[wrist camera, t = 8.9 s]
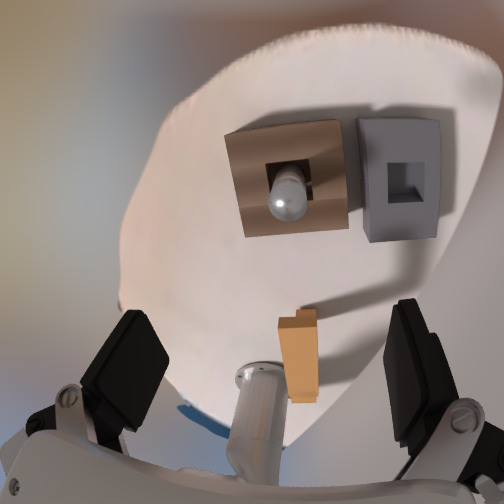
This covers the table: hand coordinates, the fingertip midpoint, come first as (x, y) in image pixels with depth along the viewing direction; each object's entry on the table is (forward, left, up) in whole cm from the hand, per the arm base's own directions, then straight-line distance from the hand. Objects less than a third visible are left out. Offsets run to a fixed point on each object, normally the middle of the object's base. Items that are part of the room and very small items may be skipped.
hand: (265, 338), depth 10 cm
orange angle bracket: (-17, 0, -26) cm, 31 cm away
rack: (-1, -13, -26) cm, 29 cm away
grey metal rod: (0, 0, -25) cm, 25 cm away
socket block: (0, 0, -26) cm, 26 cm away
